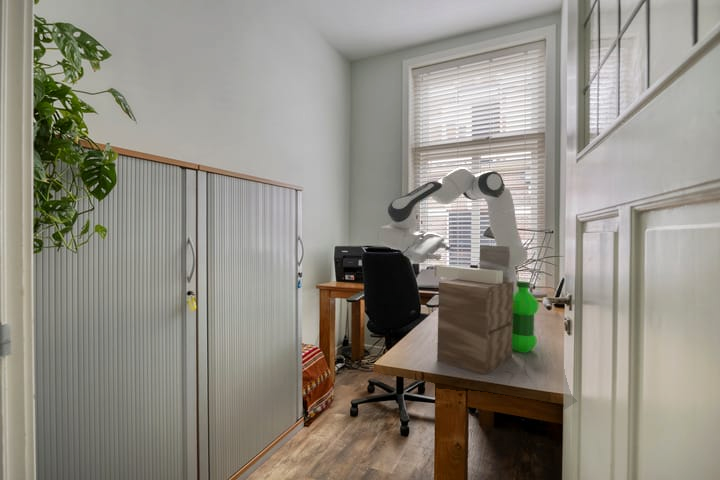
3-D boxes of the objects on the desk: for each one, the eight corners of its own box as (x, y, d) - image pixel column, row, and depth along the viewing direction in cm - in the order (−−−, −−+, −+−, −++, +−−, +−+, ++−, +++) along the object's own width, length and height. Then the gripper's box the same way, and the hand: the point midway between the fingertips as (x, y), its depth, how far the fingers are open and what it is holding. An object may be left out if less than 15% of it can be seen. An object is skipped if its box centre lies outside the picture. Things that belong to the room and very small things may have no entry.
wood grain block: (468, 345, 130) (470, 244, 129) (511, 356, 119) (514, 246, 118) (437, 360, 114) (439, 245, 113) (484, 375, 103) (487, 247, 102)
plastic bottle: (528, 357, 119) (530, 284, 119) (500, 348, 128) (502, 280, 127) (542, 351, 125) (544, 282, 125) (515, 343, 134) (516, 279, 133)
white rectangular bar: (442, 275, 132) (442, 264, 132) (502, 283, 114) (503, 270, 114) (434, 276, 129) (435, 265, 129) (495, 284, 111) (496, 271, 111)
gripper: (400, 246, 131) (434, 256, 124) (425, 228, 146) (456, 236, 139) (400, 260, 134) (432, 271, 127) (424, 241, 149) (454, 250, 141)
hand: (445, 252), depth 133 cm, fingers open, 8 cm apart
